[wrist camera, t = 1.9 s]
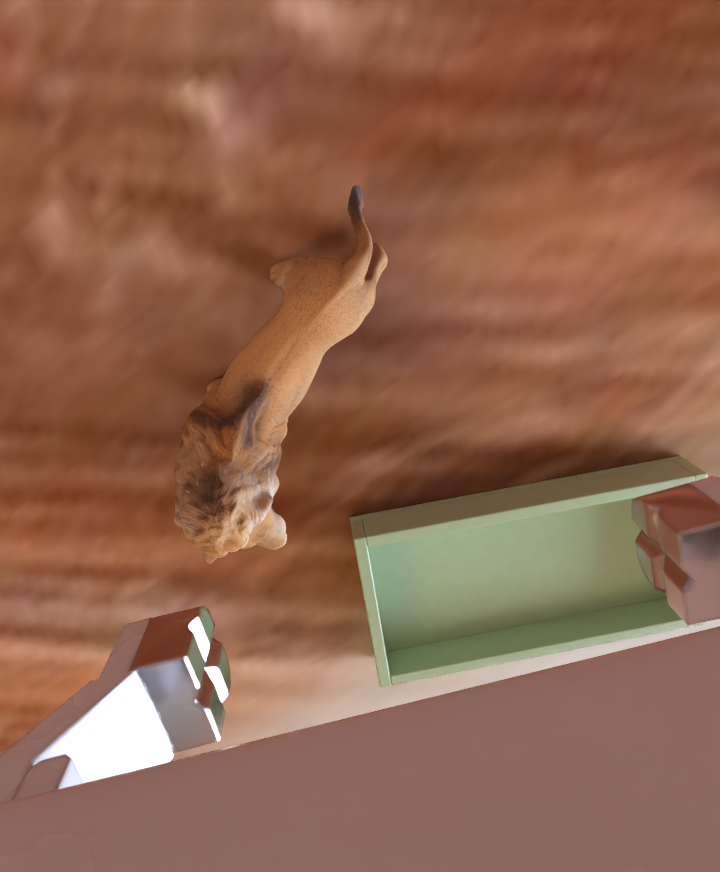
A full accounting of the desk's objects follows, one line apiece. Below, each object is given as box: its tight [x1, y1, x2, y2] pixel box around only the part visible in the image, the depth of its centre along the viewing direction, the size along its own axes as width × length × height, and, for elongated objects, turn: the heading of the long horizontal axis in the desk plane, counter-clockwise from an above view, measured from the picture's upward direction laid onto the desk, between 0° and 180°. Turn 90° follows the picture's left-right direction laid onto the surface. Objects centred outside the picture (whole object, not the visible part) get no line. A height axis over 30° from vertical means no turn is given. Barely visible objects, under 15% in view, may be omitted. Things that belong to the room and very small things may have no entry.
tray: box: [349, 456, 707, 687], centre depth 34 cm, size 17×9×2 cm, turn 99°
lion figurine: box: [174, 185, 388, 563], centre depth 26 cm, size 15×5×9 cm, turn 155°
